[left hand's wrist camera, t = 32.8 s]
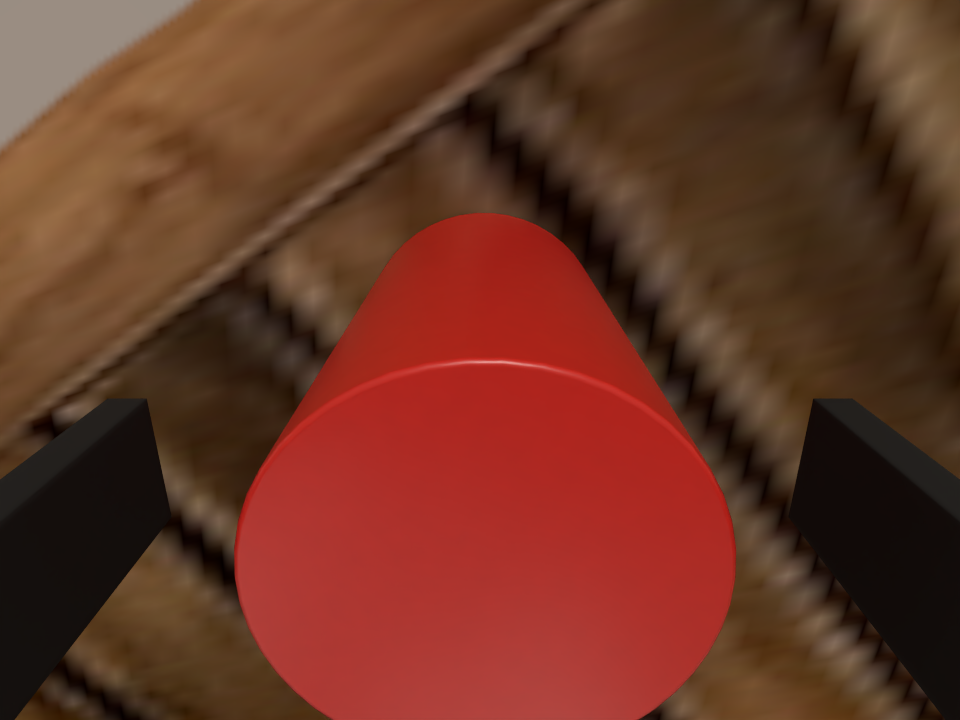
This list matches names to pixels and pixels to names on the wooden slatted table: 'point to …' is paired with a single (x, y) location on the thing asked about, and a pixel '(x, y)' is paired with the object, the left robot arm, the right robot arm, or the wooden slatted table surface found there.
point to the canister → (484, 502)
